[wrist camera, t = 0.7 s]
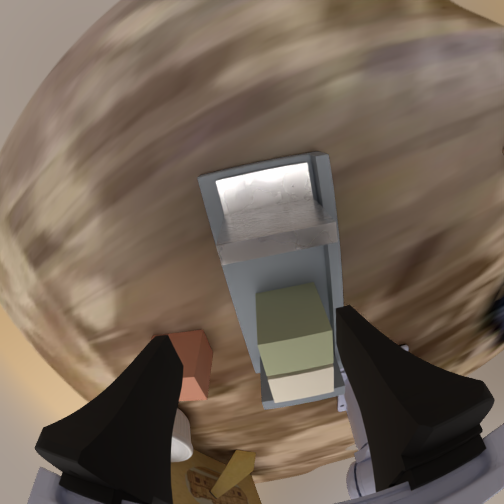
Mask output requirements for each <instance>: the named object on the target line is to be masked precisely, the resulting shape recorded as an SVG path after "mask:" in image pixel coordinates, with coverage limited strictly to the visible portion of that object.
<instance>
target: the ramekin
mask: <svg viewBox="0 0 504 504" xmlns="http://www.w3.org/2000/svg"><path fill="white" fill-rule="evenodd" d="M192 454H193V446H192V444H191V434H190V424H189V421H188V419H187V417H186V416H185V414H184V413H183V412H182V411H181V410H180V409H178V408H177V412H176V417H175V421H174V426H173V433H172V445H171V462H180V461H185V460H187V459H189V458H190V457H191V456H192Z"/></svg>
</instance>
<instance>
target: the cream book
mask: <svg viewBox="0 0 504 504" xmlns="http://www.w3.org/2000/svg"><path fill="white" fill-rule="evenodd" d="M267 377H268V382H269V386H270V389H271V392H272V396H273V399H274V402H275V403H279V402H285V401H291V400H297V399H302V398H307V397H312V396H317V395H321V394H326V393H330V392H334V367H333V363H332V364H328V365H323V366H319V367H314V368H309V369H305V370H300V371H294V372H289V373H284V374H278V375H272V376H267Z"/></svg>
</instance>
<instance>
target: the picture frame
mask: <svg viewBox="0 0 504 504" xmlns="http://www.w3.org/2000/svg"><path fill="white" fill-rule="evenodd" d="M255 454H256V453H254V452H248V451H241V450H235V452H234V454H233V456H232V457H231V459H230V460H229V462H228V464H227V465H225V464H223V463H221V462H219V461H217V460H214V459H212V458H210V457H208V456H206V455H204V454H202V453H200V452H198V451H196V450H194V449H193V454H192V456H191V457H190V458H189V459H187V460H185V461H180V462H171V486H172V497H173V504H261V501H260V498H259V495H258V493H257V490H256V487H255V484H254V481H253V478H252V476H251V475H250V473H251V472H252V471H254V462H255Z"/></svg>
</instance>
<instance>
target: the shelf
mask: <svg viewBox="0 0 504 504" xmlns="http://www.w3.org/2000/svg"><path fill="white" fill-rule="evenodd" d="M300 162H307V165H308V170H309V176H310V182H311V188H312V195H313V198H314V199H315V200H316V201H317V202H318V203H319V204H320V205H321V206H322V207H323V209H324V210H325V211H326V212H327V213H328V214H329V215H330V216H331V217H332V218H333V219H334V221H335V222H336V228H337V238H338V242H335V243H330V244H325V245H320V246H316V247H311V248H306V249H301V250H296V251H291V252H286V253H281V254H276V255H271V256H266V257H261V258H256V259H251V260H246V261H241V262H236V263H231V264H226V265H222V268H223V271H224V275H225V278H226V281H227V284H228V288H229V291H230V294H231V298H232V301H233V304H234V307H235V311H236V314H237V317H238V320H239V323H240V326H241V330H242V333H243V336H244V339H245V342H246V345H247V348H248V351H249V354H250V357H251V360H252V363H253V366H254V369H255V372H256V373H260V374H261V395H262V404H263V406H264V409H265V410H266V409H273V408H279V407H286V406H291V405H297V404H302V403H308V402H312V401H317V400H322V399H326V398H331V397H335V396H339V395H343V394H345V383H344V380H343V377H342V374H341V371H340V369H343V365H342V363H341V359H340V356H339V352H338V348H337V344H336V308H339V307H343V284H342V267H341V253H340V241H339V230H338V221H337V212H336V203H335V195H334V187H333V180H332V173H331V167H330V160H329V154H326V153H322V152H319V151H317V152H310V153H304V154H298V155H292V156H287V157H281V158H276V159H271V160H266V161H261V162H256V163H251V164H246V165H242V166H237V167H233V168H228V169H224V170H220V171H216V172H212V173H208V174H204V175H200V176H199V177H198V178H197V179H198V182H199V186H200V190H201V194H202V197H203V201H204V205H205V208H206V212H207V216H208V219H209V223H210V226H211V230H212V233H213V237H214V240H215V244H216V245H217V241H218V237H219V233H220V230H221V226H222V222H223V219H224V211H223V207H222V203H221V199H220V196H219V192H218V188H217V184H216V180H217V179H221V178H226V177H230V176H235V175H239V174H244V173H248V172H253V171H258V170H263V169H268V168H273V167H278V166H283V165H289V164H294V163H300ZM311 282H314V284H315V286H316V289H317V291H318V294H319V296H320V299H321V302H322V304H323V307H324V309H325V312H326V315H327V317H328V320H329V323H330V325H331V328H332V334H333V362H334V363H333V367H334V392H330V393H326V394H321V395H317V396H312V397H307V398H302V399H297V400H291V401H285V402H279V403H275V402H274V399H273V396H272V392H271V389H270V386H269V382H268V377H267V376H266V372H265V369H264V366H263V362H262V359H261V355H260V352H259V349H258V345H257V322H256V299H255V294H256V293H261V292H267V291H272V290H277V289H282V288H287V287H292V286H297V285H302V284H306V283H311Z"/></svg>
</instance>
